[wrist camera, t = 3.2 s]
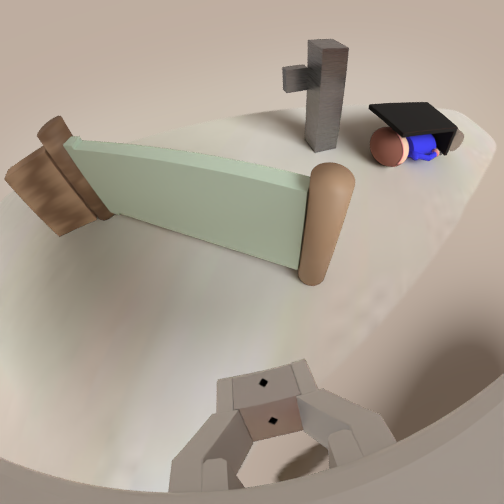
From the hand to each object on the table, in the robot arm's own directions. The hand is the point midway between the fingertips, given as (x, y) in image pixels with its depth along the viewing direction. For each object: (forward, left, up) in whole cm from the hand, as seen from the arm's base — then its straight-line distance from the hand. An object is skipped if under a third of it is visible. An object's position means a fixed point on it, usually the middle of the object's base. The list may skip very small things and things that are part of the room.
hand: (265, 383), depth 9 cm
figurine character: (+27, +19, -14) cm, 36 cm away
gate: (-2, +15, -13) cm, 20 cm away
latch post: (+14, +25, -13) cm, 31 cm away
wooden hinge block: (-16, +24, -13) cm, 32 cm away
